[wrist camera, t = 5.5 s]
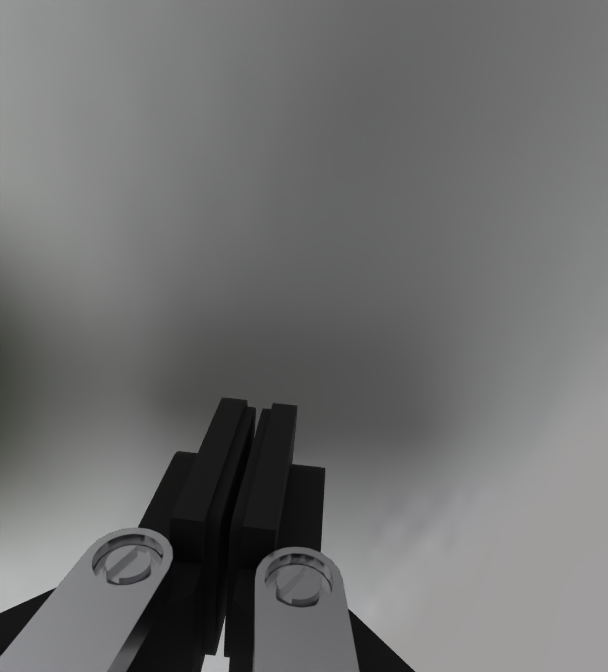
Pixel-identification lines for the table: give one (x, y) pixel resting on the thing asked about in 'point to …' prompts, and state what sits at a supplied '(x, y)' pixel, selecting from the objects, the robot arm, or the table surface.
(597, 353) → the table surface
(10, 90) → the table surface
